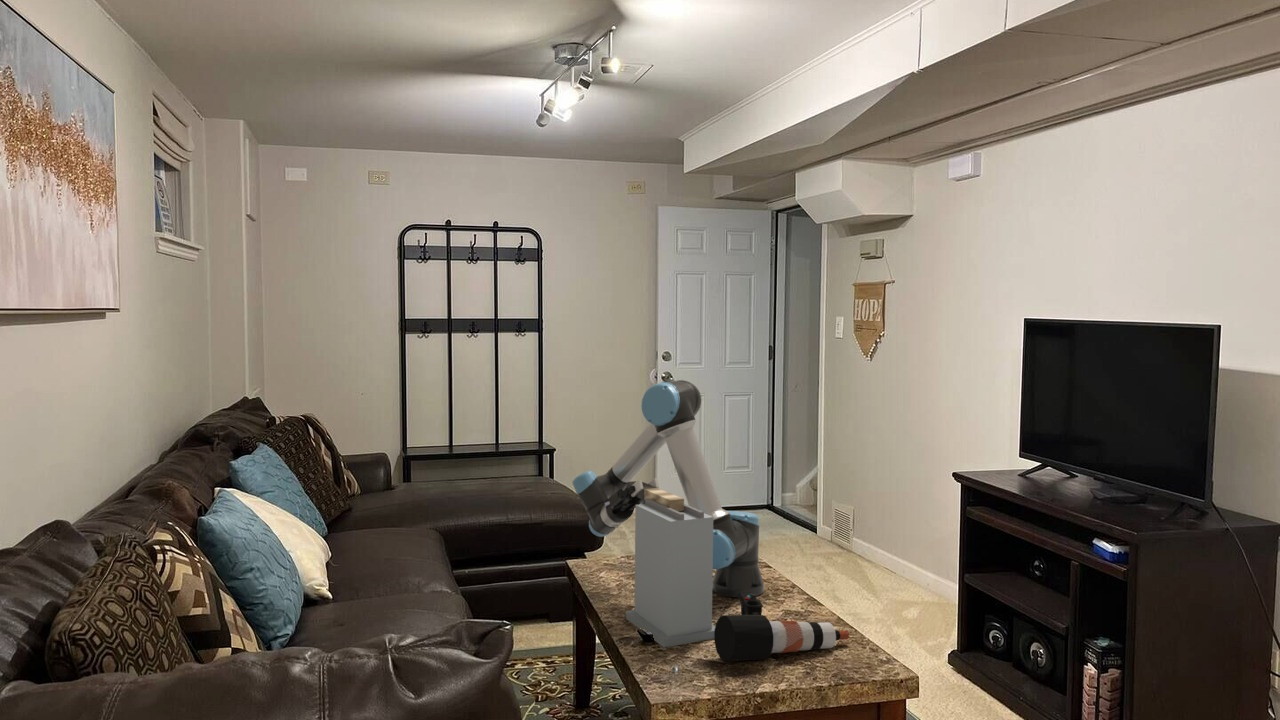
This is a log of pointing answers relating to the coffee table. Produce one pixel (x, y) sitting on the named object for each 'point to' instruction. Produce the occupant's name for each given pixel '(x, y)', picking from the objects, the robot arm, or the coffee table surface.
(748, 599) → the controller
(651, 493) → the bar
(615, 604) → the coffee table surface
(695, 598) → the post
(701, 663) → the coffee table surface
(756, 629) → the black white tapered cylinder
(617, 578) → the coffee table surface
